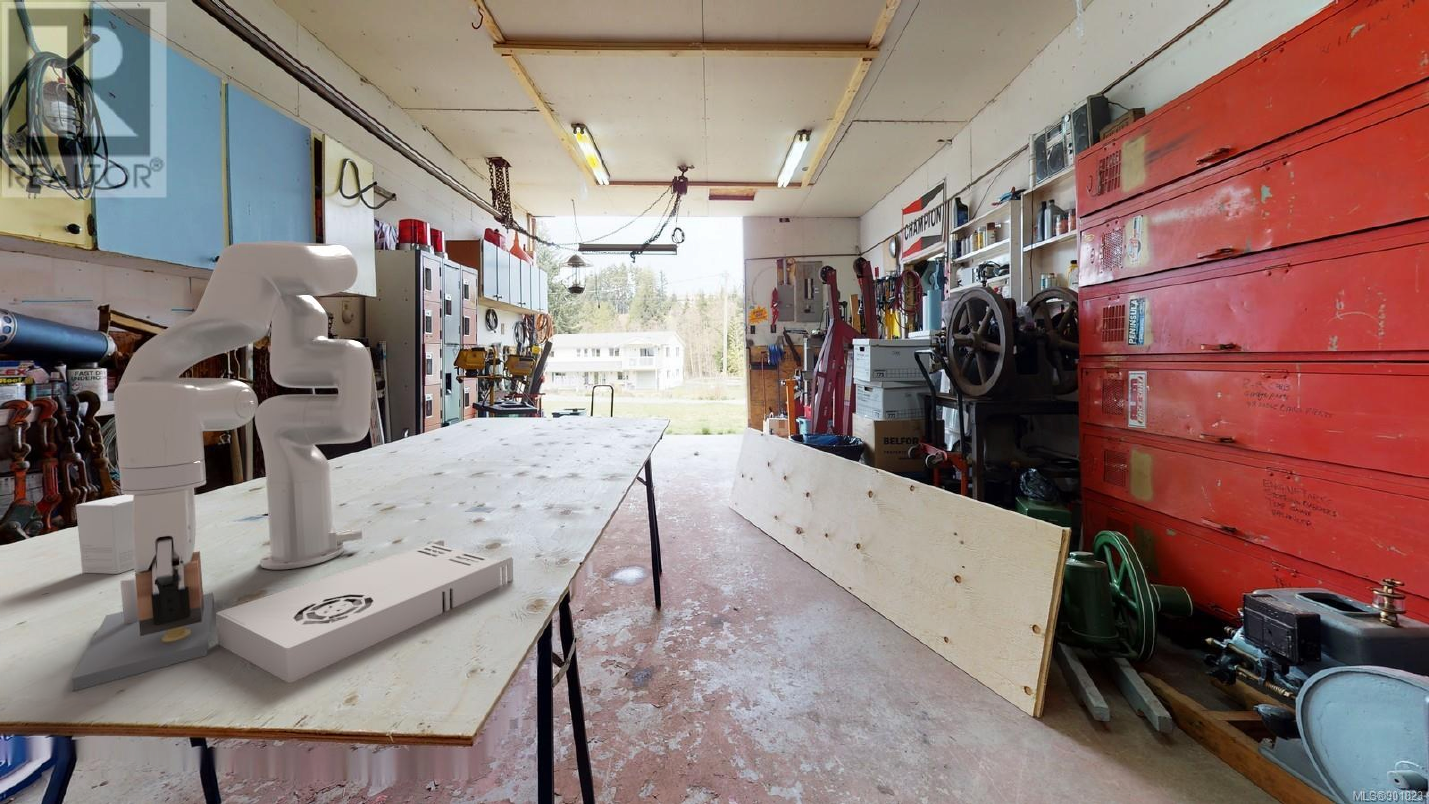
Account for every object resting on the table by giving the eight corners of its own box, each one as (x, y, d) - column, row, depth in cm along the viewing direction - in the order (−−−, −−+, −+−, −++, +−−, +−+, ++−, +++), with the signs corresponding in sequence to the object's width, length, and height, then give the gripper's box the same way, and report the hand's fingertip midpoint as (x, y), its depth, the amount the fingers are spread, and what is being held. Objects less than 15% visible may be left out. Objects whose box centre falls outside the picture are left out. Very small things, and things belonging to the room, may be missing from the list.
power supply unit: (513, 584, 90) (513, 556, 89) (289, 689, 61) (287, 648, 60) (443, 564, 98) (442, 538, 98) (217, 648, 69) (215, 612, 69)
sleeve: (203, 607, 71) (199, 551, 71) (201, 621, 67) (197, 562, 67) (146, 620, 68) (141, 561, 67) (140, 636, 64) (135, 573, 63)
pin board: (214, 601, 81) (210, 555, 80) (207, 654, 66) (203, 598, 66) (107, 625, 74) (102, 574, 73) (72, 691, 59) (66, 628, 58)
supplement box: (164, 559, 98) (159, 494, 98) (116, 575, 91) (110, 505, 90) (130, 557, 99) (125, 493, 98) (79, 573, 92) (73, 504, 91)
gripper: (131, 470, 70) (142, 599, 71) (106, 494, 57) (120, 650, 59) (208, 463, 75) (217, 583, 76) (201, 483, 63) (211, 627, 64)
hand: (174, 611), depth 68 cm, fingers closed on sleeve, 5 cm apart
